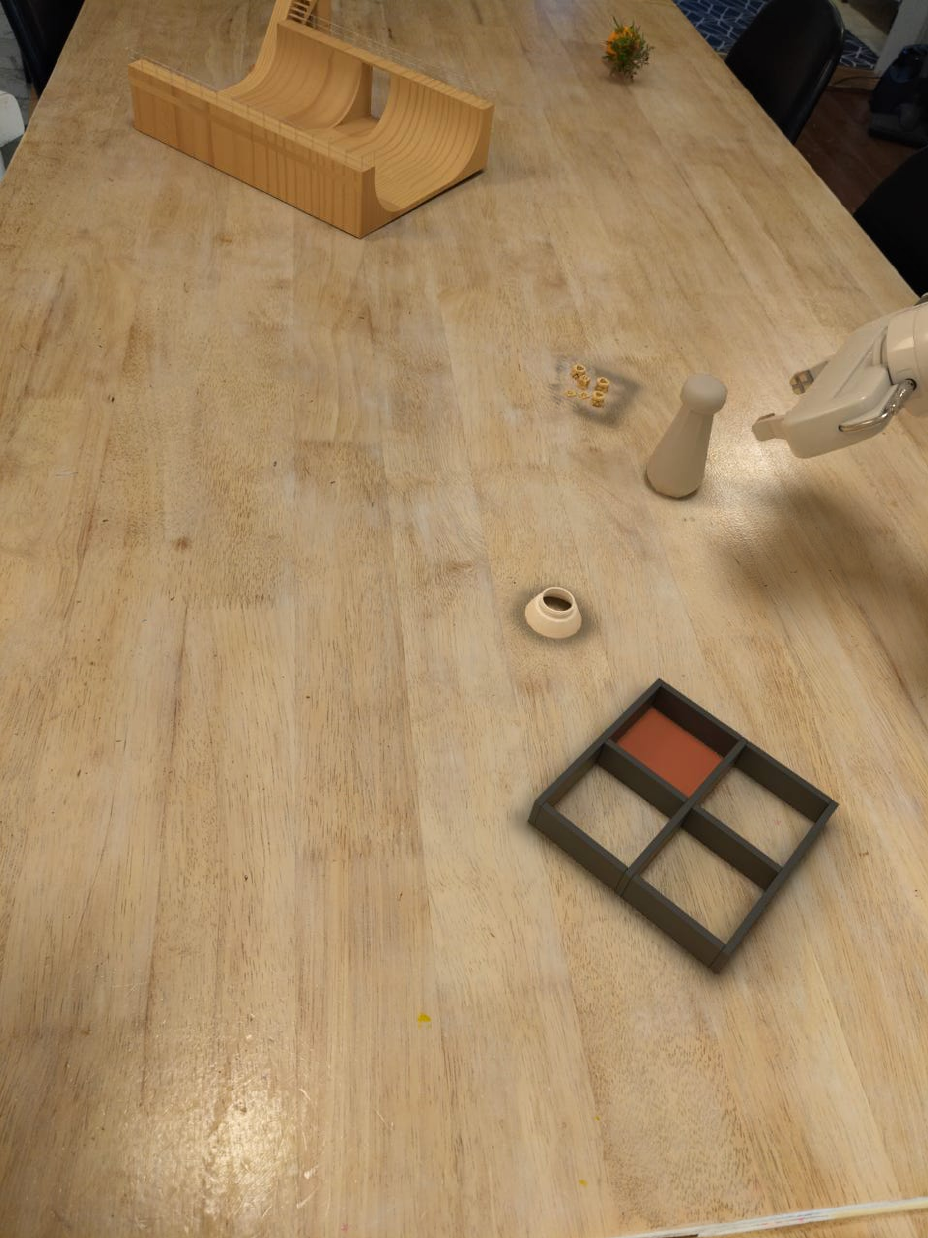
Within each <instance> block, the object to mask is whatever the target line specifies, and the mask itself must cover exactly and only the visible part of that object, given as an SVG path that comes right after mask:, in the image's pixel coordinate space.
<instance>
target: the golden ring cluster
mask: <svg viewBox="0 0 928 1238" xmlns="http://www.w3.org/2000/svg"><path fill="white" fill-rule="evenodd" d="M586 372H587V367H586V366H585V365H583V364H578V363H577V364H575V365H573V367H572V371H571V378H572V379H573V380H574V381H577V383H576V386H577V389H580V390H583V391H581V392H578V393H577V394H576V392H575V391H574V390H573V389H566V390H564V395H566V397H567V398H574V397H576V396H578V397H579V398H580V399H581V400H587V399H589V398H590V396H591V398H590V400H589V401H590V402H589V404H590V405H591V406H592V407H595V408H601V407H603V405H604V402H605V399H606V394H607V393H608V391H609V387H610V384H611V382H610V380H609V379H608V378H606V377H598V378H597V380H596V382H595V386H594V390H593V391H592V393H591V394H592V395H589V394H588V393H587V388H588V387H589V386H590V383H591V379H592V378H591V377H589V376H587V375H586Z"/></svg>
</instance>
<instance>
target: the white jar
mask: <svg viewBox="0 0 928 1238" xmlns="http://www.w3.org/2000/svg"><path fill="white" fill-rule="evenodd" d="M548 597H553V598H557V599H562V600H563V601H565V602H567V603H569V604H570V605H571V607H570V608H568V609H567V610H555V609H552V608H550V607H549V606H548V605H547V604H546V603H545V601H544V598H548ZM524 616H525V620H526V623H527V624H528V625H529V627H531V629H532V630H533V631H535V632H537V633H538V634H540V635H542V636H544V637H548V638H552V639H565V638H569V637H571V636H574V635H575V634H576V633H577V632H578V631H579V630H580V628H581V625H582V619H583V618H582V616H581V612H580V610H579V607H578V605H577V601H576V599H575V596H574V595H573V594H572V593H571V592H570V591H569V590H567V589H566V588H562V587H558V586H551V587H547V588H546V589H544V590H543V591H542V592H540V593H539V594H537V595H536V596H535V597H534V598H532V599H531V600H530V601H529V603H528V604H526V606H525V611H524Z"/></svg>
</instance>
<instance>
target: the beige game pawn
mask: <svg viewBox="0 0 928 1238" xmlns="http://www.w3.org/2000/svg"><path fill="white" fill-rule="evenodd" d="M728 393H729V391H728V389H727V386H726V384H725V383H724V382H723V381H722V380H721V379H720V378H718V377H717V376H714V375H712V374H709V373H701V372H700V373H694V374H692V375H690V376H687V378H685V381H684V382H683V384H682V385H681V389H680V392H679V399H680V401H681V403H682V404H681V406H680V408H679V409H678V411H677V412H676V415H675V416H674V418H673V419H672V421H671V423H670V424H669V426H668V428H667V429H666V430H665V433H664V434H663V435H662V437H661V438H660V440H659V442H658V444H657V445H656V446H655V448H654V450H653V452H652V454H651V455H650V456H649V459H648V461H647V464H646V475H647V479H648V481H649V482H650V484H651V486H652V487H653V488H654V489H655V491H656V492H657V493H660V494H663V495H665V496H667V497H672V498H676V499H679V498H682V497H686V496H688V495H690V494H692V493H694V492H695V491H696V490H697V489H699V488H700V486H701V485H702V483H703V480H704V477H705V471H706V466H707V465H706V464H707V458H708V452H709V445H710V440H711V435H712V429H713V424H714V423H713V422H714V418H715V414H717V413H719V412H721V411H722V410H723V409H724V406H725V405H726V401H727V397H728Z"/></svg>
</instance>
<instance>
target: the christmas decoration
mask: <svg viewBox="0 0 928 1238" xmlns="http://www.w3.org/2000/svg"><path fill="white" fill-rule="evenodd" d="M611 16H612V20H613V22H614V24H615V26H616V28H614V29H613V31H612V32H611V34H610V35H609V36H608V38H607V39H606V40H605V41H604V42H602V44H605V45H606V47H605V50H606V51H605V55H602V56H601V60H604V59H606V60H607V62H608V63H611V65H612V66H613V67H612V70H610V72H609V77H611V76H612V74H613V73H614V74H616V73H617V72H618V73H623V76H624V78H625V79H628V78H629V80H630V83H632V84H633V83H635V77H634V76H636V75H638V71H640V70H641V69H642V68H643V66H644V65H645V66H646V65H650V62H648V61H649V59H650V57H649V56H650V51H652V50H653V51H654V50H655V49H656V48H657V47H656V46H655V45H649V44H647V41H646V39H645V33H644V32H642V33H639V32H640V29H641V26H635V20H634V18H633V20H632V25H631V26H625V25H623V23H622V22H621V21H619V23H618V21H617V20H616V17H615V16H614V15H613V14H612V15H611ZM633 69H636V70H633Z"/></svg>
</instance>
